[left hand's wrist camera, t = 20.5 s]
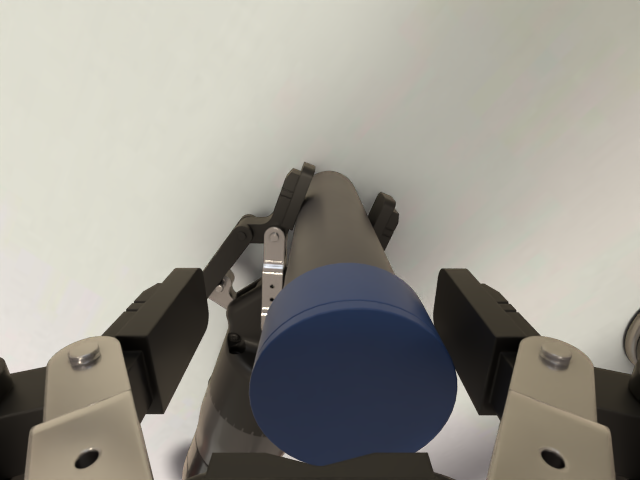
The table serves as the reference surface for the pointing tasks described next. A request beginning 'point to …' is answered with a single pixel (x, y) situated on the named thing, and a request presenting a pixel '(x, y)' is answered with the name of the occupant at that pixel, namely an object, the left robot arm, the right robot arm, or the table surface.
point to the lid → (350, 367)
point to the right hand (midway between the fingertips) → (348, 182)
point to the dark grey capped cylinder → (333, 229)
